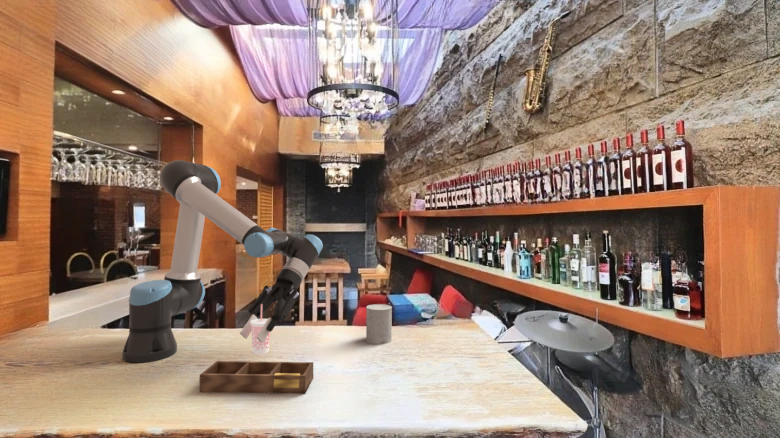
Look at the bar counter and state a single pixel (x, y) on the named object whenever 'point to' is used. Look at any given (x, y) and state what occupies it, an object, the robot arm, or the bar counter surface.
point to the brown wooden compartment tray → (257, 377)
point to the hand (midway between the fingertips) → (251, 337)
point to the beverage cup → (256, 328)
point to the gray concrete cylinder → (379, 324)
